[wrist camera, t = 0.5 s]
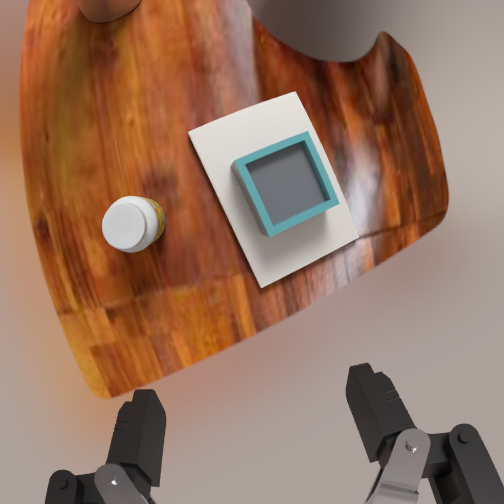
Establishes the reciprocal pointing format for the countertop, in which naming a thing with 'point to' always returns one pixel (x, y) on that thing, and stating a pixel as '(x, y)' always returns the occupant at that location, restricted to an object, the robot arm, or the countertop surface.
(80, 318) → the countertop surface
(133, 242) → the supplement bottle
